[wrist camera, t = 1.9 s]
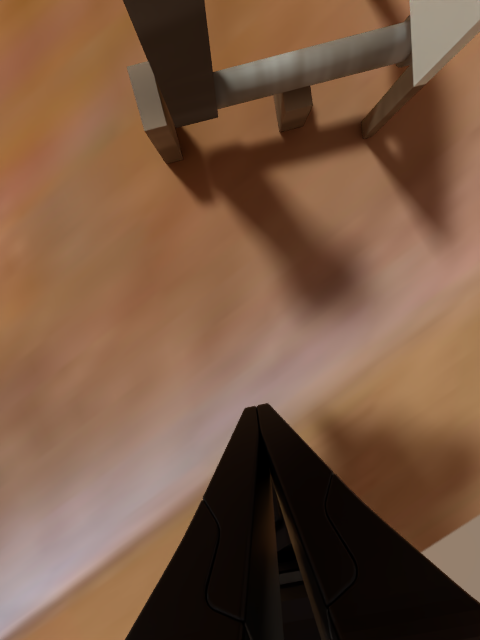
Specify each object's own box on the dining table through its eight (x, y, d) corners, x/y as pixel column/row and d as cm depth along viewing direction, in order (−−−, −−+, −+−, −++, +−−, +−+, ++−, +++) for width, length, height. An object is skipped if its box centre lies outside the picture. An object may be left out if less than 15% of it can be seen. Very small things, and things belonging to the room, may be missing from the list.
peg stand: (371, 136, 15) (425, 84, 11) (172, 185, 16) (147, 154, 11) (355, -60, 13) (414, -223, 9) (123, 4, 14) (70, -121, 9)
